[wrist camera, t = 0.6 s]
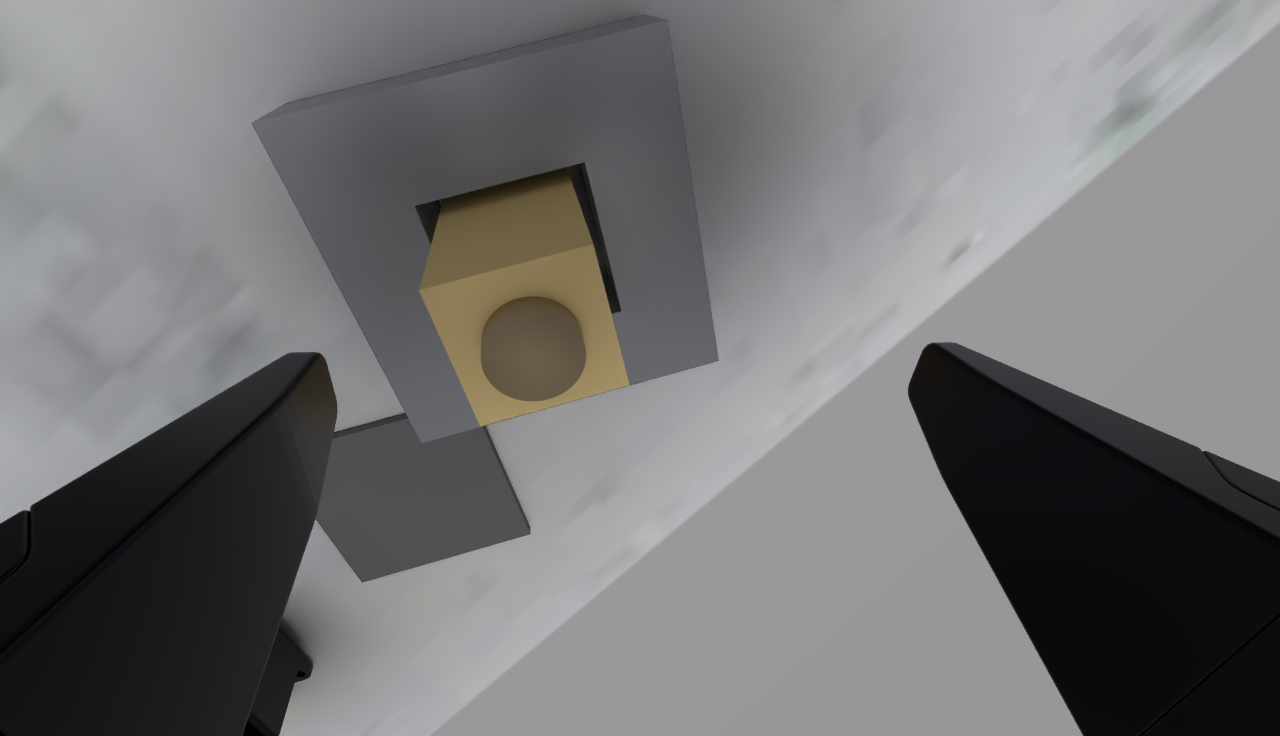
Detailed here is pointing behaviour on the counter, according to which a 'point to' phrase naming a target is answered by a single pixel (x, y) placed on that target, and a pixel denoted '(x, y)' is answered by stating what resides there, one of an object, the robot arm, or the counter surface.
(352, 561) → the pad
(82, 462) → the counter surface
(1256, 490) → the robot arm
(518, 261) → the plug
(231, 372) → the counter surface
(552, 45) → the socket block
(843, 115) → the counter surface
